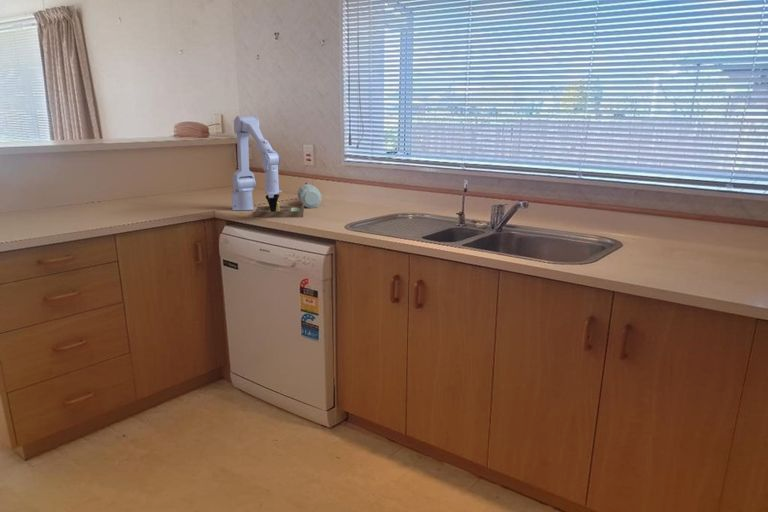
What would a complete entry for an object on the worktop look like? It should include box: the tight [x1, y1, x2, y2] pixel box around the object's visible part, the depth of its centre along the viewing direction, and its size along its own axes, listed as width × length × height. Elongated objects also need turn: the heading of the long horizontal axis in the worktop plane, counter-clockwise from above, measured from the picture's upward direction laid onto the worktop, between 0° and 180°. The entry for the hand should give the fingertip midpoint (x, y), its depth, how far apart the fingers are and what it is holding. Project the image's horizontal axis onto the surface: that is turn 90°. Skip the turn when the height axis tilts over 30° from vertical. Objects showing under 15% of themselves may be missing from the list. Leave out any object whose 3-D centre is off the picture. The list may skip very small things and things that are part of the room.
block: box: [276, 201, 280, 211], centre depth 243 cm, size 4×4×4 cm
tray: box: [253, 203, 305, 218], centre depth 247 cm, size 22×13×4 cm, turn 96°
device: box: [297, 182, 322, 209], centre depth 275 cm, size 31×10×10 cm, turn 16°
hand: (273, 211), depth 238 cm, fingers closed
